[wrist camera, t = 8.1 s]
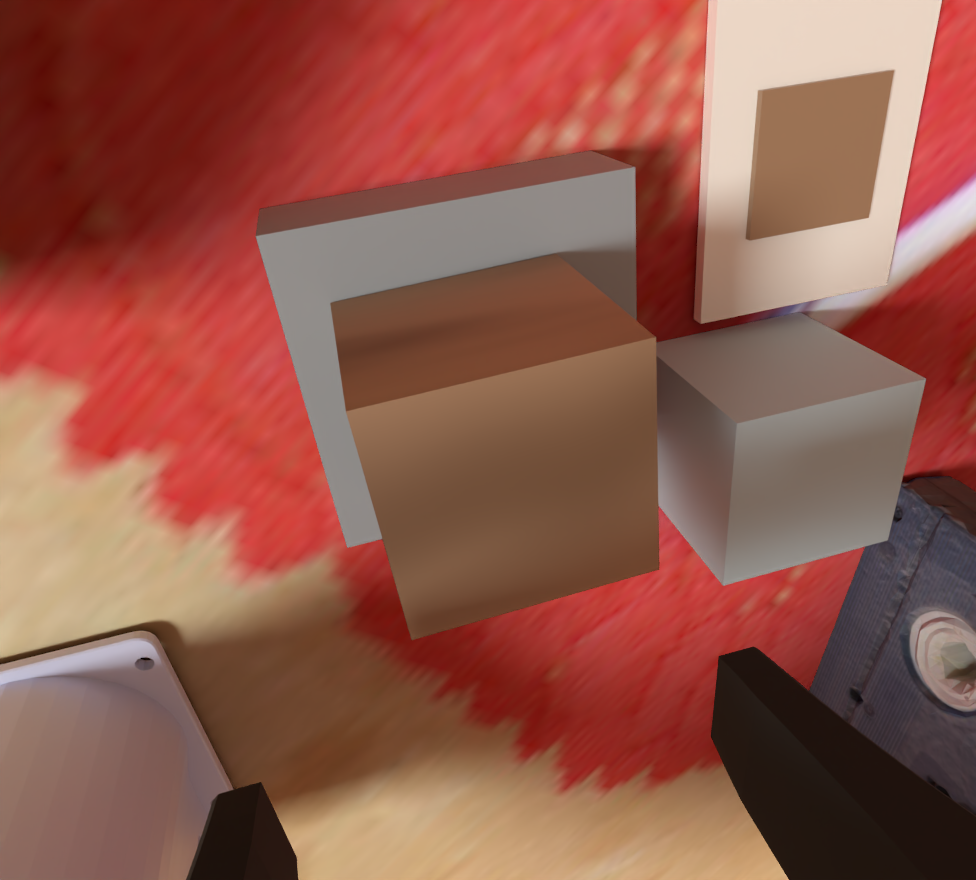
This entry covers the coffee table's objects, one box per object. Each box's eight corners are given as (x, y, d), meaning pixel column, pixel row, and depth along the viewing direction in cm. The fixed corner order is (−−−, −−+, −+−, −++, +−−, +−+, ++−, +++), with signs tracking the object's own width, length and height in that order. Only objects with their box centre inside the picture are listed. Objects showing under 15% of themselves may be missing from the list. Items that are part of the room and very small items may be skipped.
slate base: (596, 423, 22) (638, 474, 19) (339, 484, 20) (347, 547, 18) (584, 147, 17) (635, 166, 15) (260, 205, 16) (255, 236, 14)
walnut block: (573, 443, 18) (658, 569, 14) (382, 493, 17) (411, 640, 13) (555, 253, 15) (656, 336, 11) (330, 302, 15) (346, 411, 10)
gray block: (779, 450, 24) (887, 540, 19) (642, 485, 23) (723, 585, 19) (797, 310, 21) (926, 378, 17) (642, 344, 20) (737, 423, 16)
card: (877, 281, 21) (892, 287, 20) (693, 319, 20) (704, 326, 20) (936, -40, 17) (956, -43, 16) (709, -11, 16) (722, -12, 15)
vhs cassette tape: (810, 781, 35) (976, 1015, 27) (759, 792, 34) (912, 1036, 26) (956, 467, 26) (1271, 669, 18) (890, 473, 25) (1188, 686, 17)
